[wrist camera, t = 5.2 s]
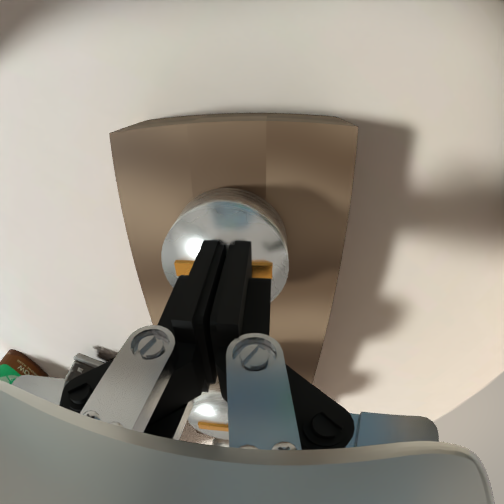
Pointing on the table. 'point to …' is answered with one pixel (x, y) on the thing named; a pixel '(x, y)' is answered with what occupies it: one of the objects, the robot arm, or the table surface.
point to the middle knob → (210, 413)
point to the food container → (18, 367)
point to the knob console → (253, 180)
